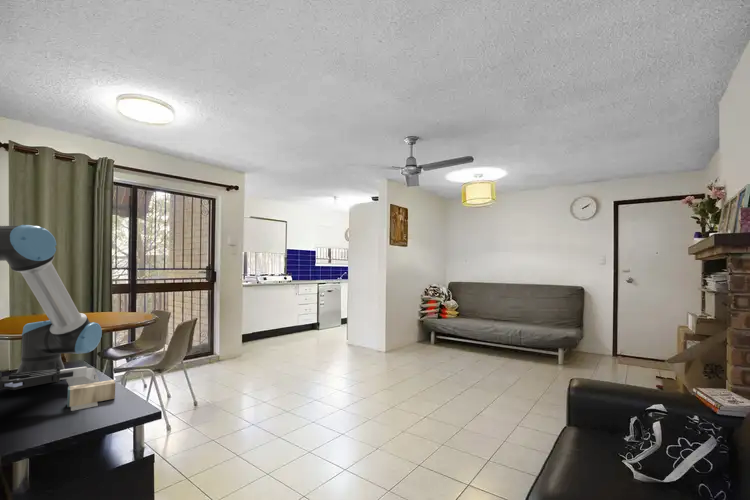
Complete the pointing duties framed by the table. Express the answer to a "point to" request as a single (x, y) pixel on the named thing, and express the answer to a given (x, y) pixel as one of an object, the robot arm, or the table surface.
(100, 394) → the block
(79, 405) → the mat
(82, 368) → the robot arm
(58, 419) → the table surface
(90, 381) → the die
